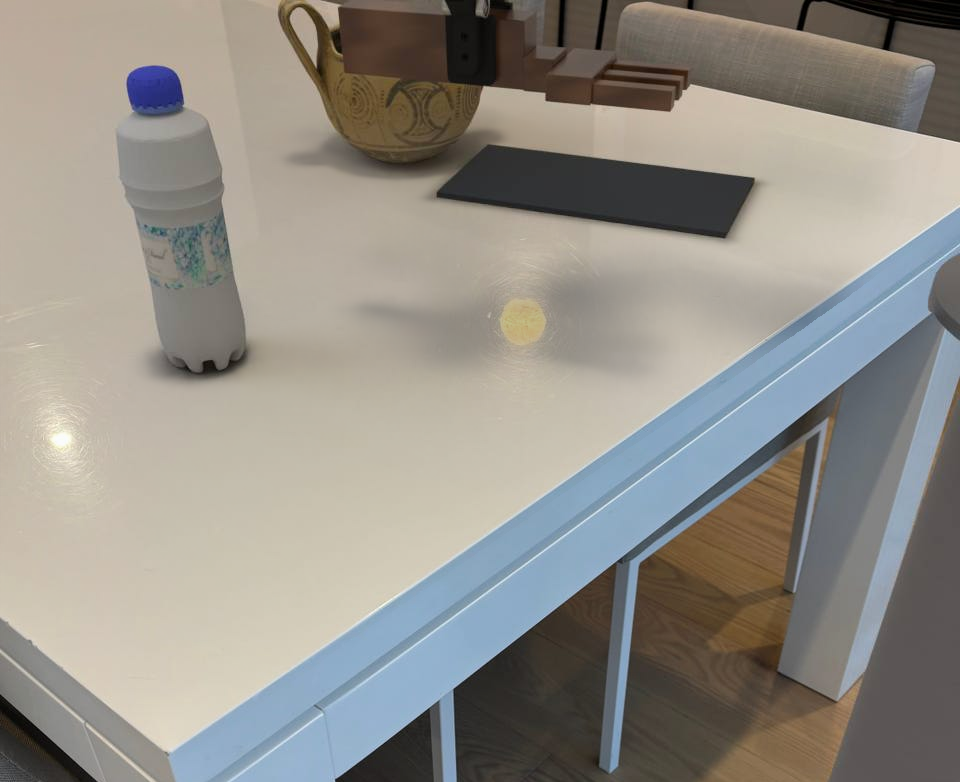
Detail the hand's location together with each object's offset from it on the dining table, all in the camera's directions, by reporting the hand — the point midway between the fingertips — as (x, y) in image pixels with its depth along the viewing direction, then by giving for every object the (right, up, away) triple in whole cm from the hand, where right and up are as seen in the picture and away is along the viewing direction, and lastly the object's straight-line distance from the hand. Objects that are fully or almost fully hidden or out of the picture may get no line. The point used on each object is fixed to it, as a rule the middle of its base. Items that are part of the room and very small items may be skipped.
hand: (480, 73), depth 71 cm
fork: (+1, -1, 0) cm, 2 cm away
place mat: (+11, +6, +33) cm, 36 cm away
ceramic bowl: (-8, +13, +41) cm, 44 cm away
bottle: (-21, -16, +10) cm, 28 cm away
